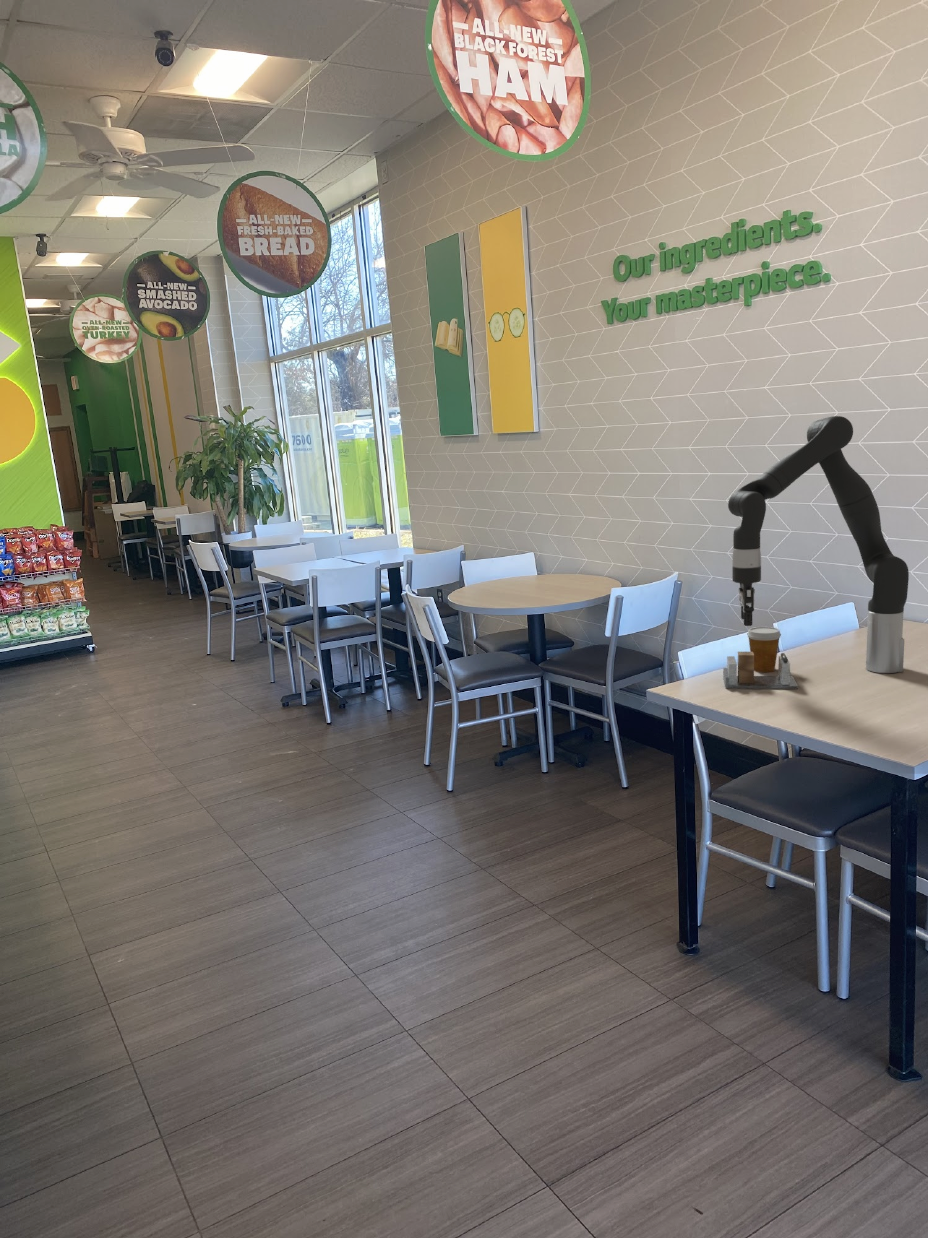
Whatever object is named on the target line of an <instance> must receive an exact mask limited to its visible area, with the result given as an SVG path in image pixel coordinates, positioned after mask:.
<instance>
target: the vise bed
mask: <svg viewBox="0 0 928 1238" xmlns="http://www.w3.org/2000/svg"><path fill="white" fill-rule="evenodd" d="M726 665H727V666H726V667H723V668H722V669H723V671H722V677H723V678H722V680H723V683H724V688H725V689H728V690H729V689H730V690H734V689H735V690H736V689H737V690H739V689H741V690H743V689H745V690H749V689H751V690H753V689H754V690H755V689H756V690H784V689H785V690H798V689H799V685H798V684H797V682H796V680H795V678H794V676H793V675H790V685H782V684H781V681H780V679H779V677H778V675H754V683H739V681H738V662H737V660H736V657H735V656H726Z"/></svg>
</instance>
